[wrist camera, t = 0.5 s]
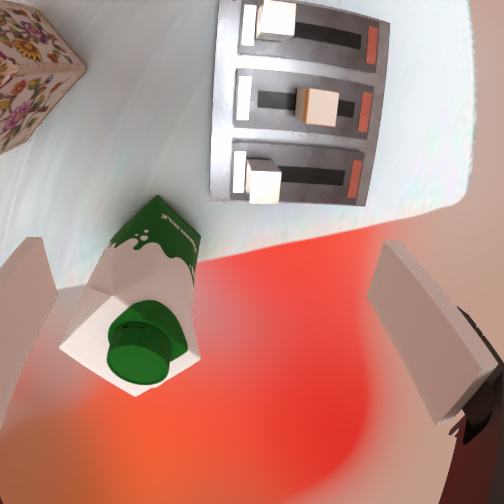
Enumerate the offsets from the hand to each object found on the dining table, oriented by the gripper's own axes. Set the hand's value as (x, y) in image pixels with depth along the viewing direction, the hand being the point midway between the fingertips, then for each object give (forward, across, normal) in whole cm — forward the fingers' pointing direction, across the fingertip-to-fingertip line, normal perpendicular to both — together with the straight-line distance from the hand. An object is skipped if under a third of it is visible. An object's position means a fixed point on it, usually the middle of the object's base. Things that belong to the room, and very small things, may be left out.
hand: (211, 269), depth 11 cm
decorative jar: (+23, -21, +9) cm, 33 cm away
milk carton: (+23, -6, -11) cm, 26 cm away
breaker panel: (+23, +8, +5) cm, 25 cm away
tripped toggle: (+19, +8, +5) cm, 21 cm away
